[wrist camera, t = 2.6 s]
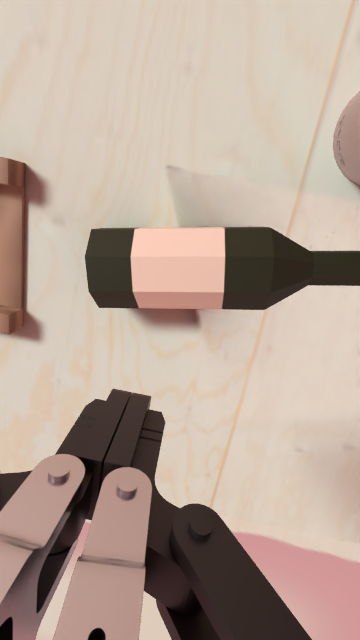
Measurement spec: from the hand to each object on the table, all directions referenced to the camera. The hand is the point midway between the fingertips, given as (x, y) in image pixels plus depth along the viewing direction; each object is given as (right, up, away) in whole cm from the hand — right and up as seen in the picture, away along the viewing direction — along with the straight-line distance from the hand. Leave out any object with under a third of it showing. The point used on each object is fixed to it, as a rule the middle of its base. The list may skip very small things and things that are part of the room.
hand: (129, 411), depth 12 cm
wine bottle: (-6, +9, +20) cm, 23 cm away
